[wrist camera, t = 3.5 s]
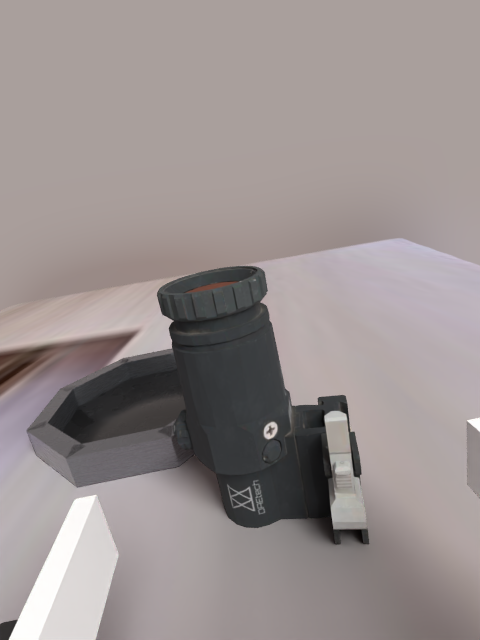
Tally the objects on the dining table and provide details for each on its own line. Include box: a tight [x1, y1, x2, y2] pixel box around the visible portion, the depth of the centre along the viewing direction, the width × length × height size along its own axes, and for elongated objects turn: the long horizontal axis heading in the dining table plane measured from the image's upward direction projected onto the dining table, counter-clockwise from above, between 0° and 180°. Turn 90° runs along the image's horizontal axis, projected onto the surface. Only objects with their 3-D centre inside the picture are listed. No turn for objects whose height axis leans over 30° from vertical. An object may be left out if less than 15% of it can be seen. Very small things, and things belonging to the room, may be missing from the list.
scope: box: [157, 266, 369, 544], centre depth 21 cm, size 8×14×10 cm
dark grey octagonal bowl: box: [27, 348, 195, 487], centre depth 36 cm, size 18×18×2 cm
